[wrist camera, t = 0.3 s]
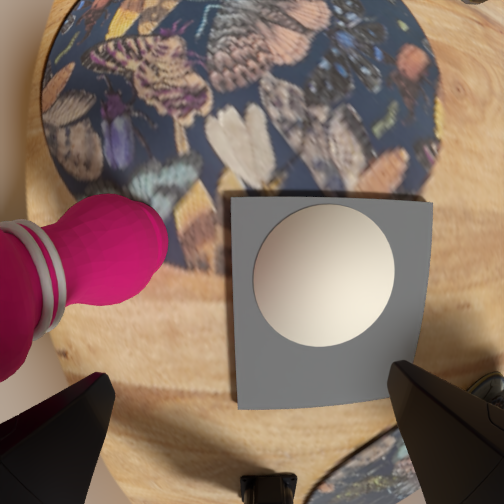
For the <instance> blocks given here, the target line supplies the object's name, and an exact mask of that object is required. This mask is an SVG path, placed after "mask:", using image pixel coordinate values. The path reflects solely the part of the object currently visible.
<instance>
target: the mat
mask: <svg viewBox="0 0 504 504" xmlns="http://www.w3.org/2000/svg"><path fill="white" fill-rule="evenodd" d="M432 222H433V203H431V202H417V201H402V200H385V199H364V198H334V197H231V236H232V276H233V308H234V335H235V359H236V381H237V401H238V409H239V410H269V409H296V408H311V407H323V406H334V405H343V404H351V403H358V402H365V401H372V400H378V399H384V398H389V397H390V396H389V392H388V389H387V379H388V375H389V371H390V367H391V364H392V363H393V362H394V361H398V360H407V361H409V362H410V363H412V364H413V361H414V357H415V352H416V348H417V343H418V339H419V334H420V329H421V324H422V318H423V312H424V306H425V299H426V292H427V285H428V276H429V267H430V256H431V243H432Z"/></svg>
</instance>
